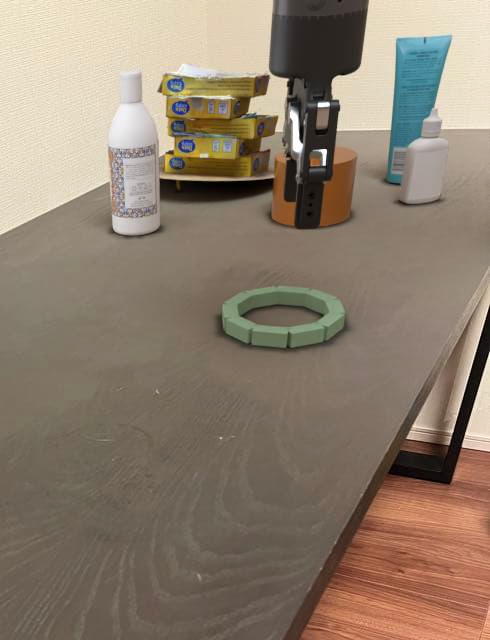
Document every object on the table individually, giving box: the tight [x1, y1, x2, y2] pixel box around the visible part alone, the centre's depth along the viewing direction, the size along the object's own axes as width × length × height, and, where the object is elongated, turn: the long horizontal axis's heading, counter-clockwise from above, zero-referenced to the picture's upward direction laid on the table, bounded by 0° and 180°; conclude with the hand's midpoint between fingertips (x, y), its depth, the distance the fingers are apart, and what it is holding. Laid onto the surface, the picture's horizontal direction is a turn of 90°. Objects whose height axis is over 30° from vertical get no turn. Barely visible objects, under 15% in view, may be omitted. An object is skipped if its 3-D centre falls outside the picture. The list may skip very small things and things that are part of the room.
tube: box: [385, 34, 453, 185], centre depth 117 cm, size 7×5×19 cm, turn 85°
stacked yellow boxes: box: [156, 63, 280, 192], centre depth 126 cm, size 25×25×17 cm
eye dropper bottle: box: [398, 107, 450, 205], centre depth 111 cm, size 4×6×12 cm
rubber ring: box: [221, 285, 346, 349], centre depth 85 cm, size 13×13×2 cm
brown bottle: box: [270, 145, 358, 228], centre depth 110 cm, size 11×11×13 cm
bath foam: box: [107, 69, 161, 236], centre depth 109 cm, size 7×7×20 cm
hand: (300, 213), depth 74 cm, fingers open, 8 cm apart
